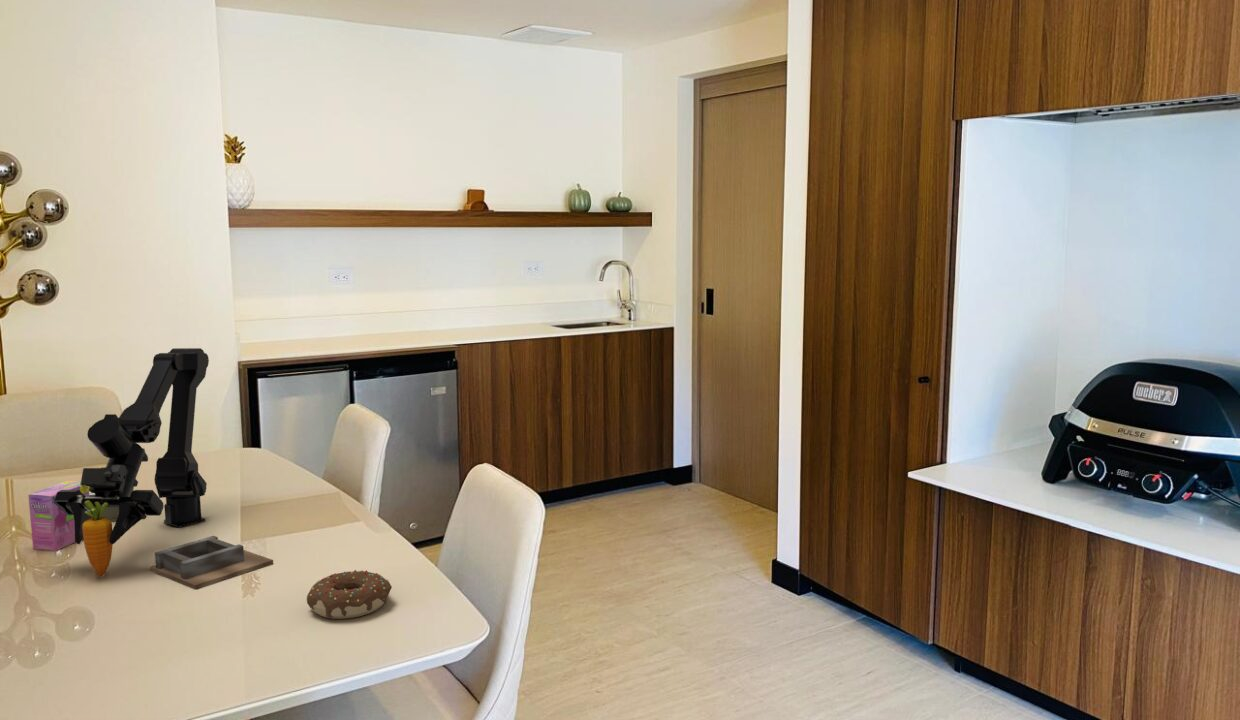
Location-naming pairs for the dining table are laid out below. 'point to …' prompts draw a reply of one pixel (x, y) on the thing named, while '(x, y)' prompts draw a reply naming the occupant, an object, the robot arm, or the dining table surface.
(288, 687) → the dining table surface
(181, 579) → the grey frame on base
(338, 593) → the donut
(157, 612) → the dining table surface
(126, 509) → the robot arm
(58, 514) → the box
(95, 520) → the carrot
